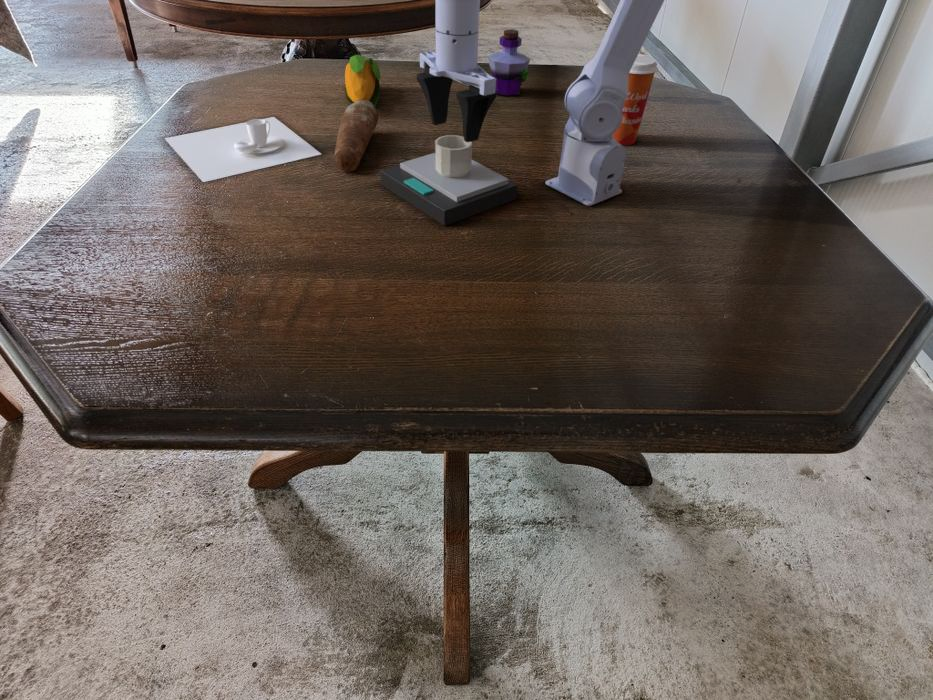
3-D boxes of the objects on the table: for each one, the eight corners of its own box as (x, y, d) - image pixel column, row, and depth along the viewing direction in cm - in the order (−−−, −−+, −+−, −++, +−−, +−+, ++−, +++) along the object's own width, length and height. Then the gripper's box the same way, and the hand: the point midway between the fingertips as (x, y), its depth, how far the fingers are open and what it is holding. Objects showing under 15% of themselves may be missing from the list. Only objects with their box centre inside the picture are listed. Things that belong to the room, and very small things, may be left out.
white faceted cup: (476, 167, 96) (477, 139, 93) (462, 181, 92) (463, 152, 89) (444, 160, 98) (444, 132, 95) (429, 174, 94) (429, 145, 91)
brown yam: (379, 130, 114) (378, 99, 111) (362, 176, 100) (359, 142, 96) (345, 128, 114) (342, 97, 111) (322, 174, 100) (318, 140, 96)
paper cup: (597, 144, 113) (611, 62, 104) (600, 129, 119) (614, 50, 110) (641, 150, 112) (659, 67, 103) (642, 134, 117) (660, 55, 108)
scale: (516, 199, 96) (518, 179, 94) (444, 226, 89) (444, 205, 86) (450, 163, 105) (451, 144, 103) (381, 185, 98) (380, 165, 96)
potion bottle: (527, 100, 129) (533, 37, 122) (486, 98, 130) (489, 35, 122) (526, 86, 136) (532, 26, 128) (486, 84, 136) (490, 24, 128)
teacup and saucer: (241, 160, 102) (236, 136, 100) (224, 144, 107) (219, 120, 105) (291, 149, 107) (288, 125, 104) (273, 133, 111) (269, 110, 109)
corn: (377, 45, 128) (379, 76, 113) (382, 84, 133) (384, 118, 118) (341, 48, 128) (338, 80, 113) (347, 86, 133) (345, 122, 118)
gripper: (400, 21, 85) (403, 121, 94) (467, 47, 76) (464, 154, 85) (442, 15, 88) (441, 112, 97) (510, 39, 80) (503, 143, 89)
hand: (454, 131), depth 91 cm, fingers open, 7 cm apart
